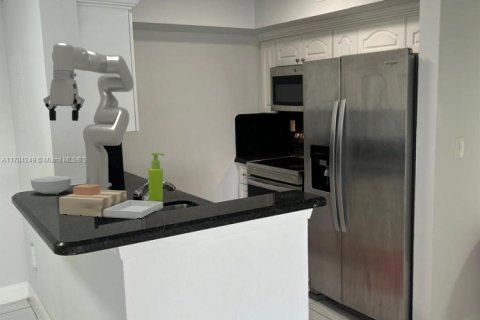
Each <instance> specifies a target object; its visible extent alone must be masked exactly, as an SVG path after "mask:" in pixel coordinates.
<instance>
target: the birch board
mask: <svg viewBox="0 0 480 320" xmlns="http://www.w3.org/2000/svg"><path fill="white" fill-rule="evenodd" d="M127 191H128V190H111V189H108V190H101V193H98V194H95V195H92V196H86V195H73V193H71V194H68V195H67V194H66V195H64V196H60V197H58V199H59V200H58V201H59V202H58V203H59V205H58V207H59V209H58V210H59V215H63V214H67V215H66V216H80V215H82V216H83V217H97V216H98V217H100V218H101V217H104V216H103V210H104V209H107V208H110V207H112V206H115V205H117V204H120V203H123V202H125V201H128V200H127V199H128V198H127V197H128V195H127V193H128V192H127ZM98 217H97V218H98Z"/></svg>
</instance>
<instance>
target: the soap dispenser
mask: <svg viewBox="0 0 480 320" xmlns="http://www.w3.org/2000/svg"><path fill="white" fill-rule="evenodd" d="M158 155H160V156H165V155H166V154H165V153H163V152H153V153H151V156H153V159H152V160H151V168H149V169H148V201H157V202H163V200H164V197H163V196H164V191H163V190H164V188H163V185H164V184H163V183H164V178H163V177H164V176H163V175H164V174H163V171H164V170H163V168H161V167H160V165H161V164H160V163H161V162H160V160H158V159H159V158H158Z"/></svg>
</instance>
